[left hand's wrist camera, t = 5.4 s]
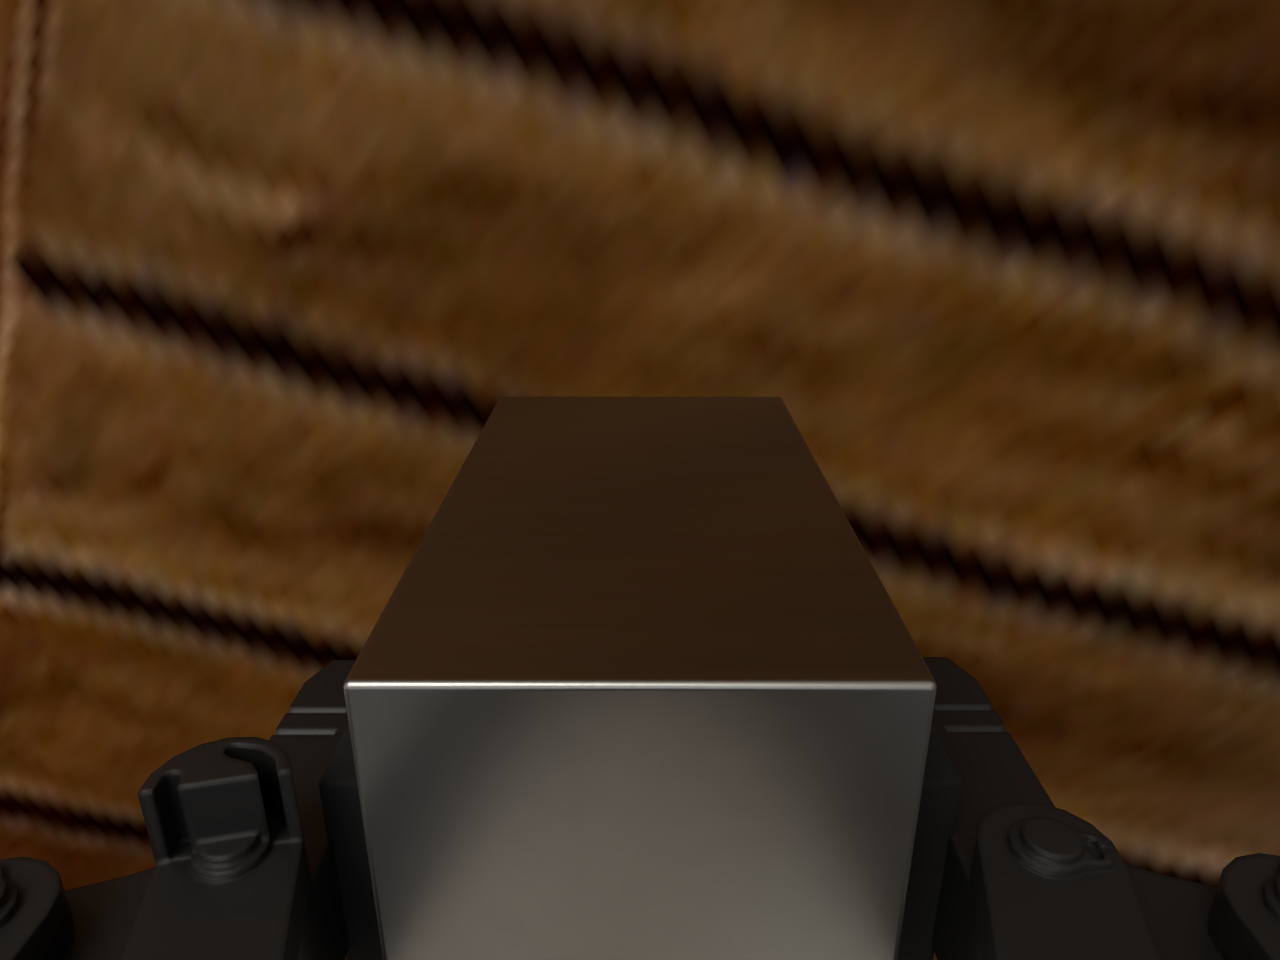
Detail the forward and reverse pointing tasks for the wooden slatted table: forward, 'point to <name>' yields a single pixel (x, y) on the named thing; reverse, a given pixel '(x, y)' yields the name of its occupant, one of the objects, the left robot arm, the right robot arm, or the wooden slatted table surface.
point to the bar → (640, 701)
